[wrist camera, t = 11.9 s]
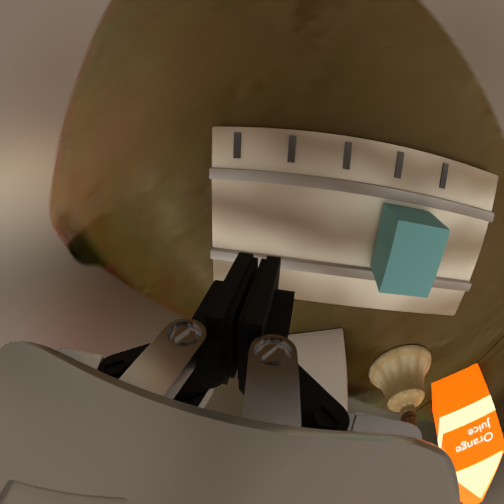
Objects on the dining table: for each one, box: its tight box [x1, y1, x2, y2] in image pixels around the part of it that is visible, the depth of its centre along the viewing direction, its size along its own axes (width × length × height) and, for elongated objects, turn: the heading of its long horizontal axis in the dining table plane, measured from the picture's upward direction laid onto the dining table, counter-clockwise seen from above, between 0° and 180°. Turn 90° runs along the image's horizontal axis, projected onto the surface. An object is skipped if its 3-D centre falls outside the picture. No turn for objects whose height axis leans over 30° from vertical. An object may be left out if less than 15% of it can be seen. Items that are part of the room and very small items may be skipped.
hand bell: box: [369, 345, 431, 427], centre depth 20 cm, size 8×8×16 cm
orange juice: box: [431, 363, 504, 504], centre depth 19 cm, size 8×9×20 cm
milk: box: [288, 328, 348, 412], centre depth 19 cm, size 6×6×22 cm
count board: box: [209, 127, 498, 315], centre depth 20 cm, size 14×24×3 cm, turn 88°
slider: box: [370, 203, 450, 298], centre depth 17 cm, size 5×4×4 cm
